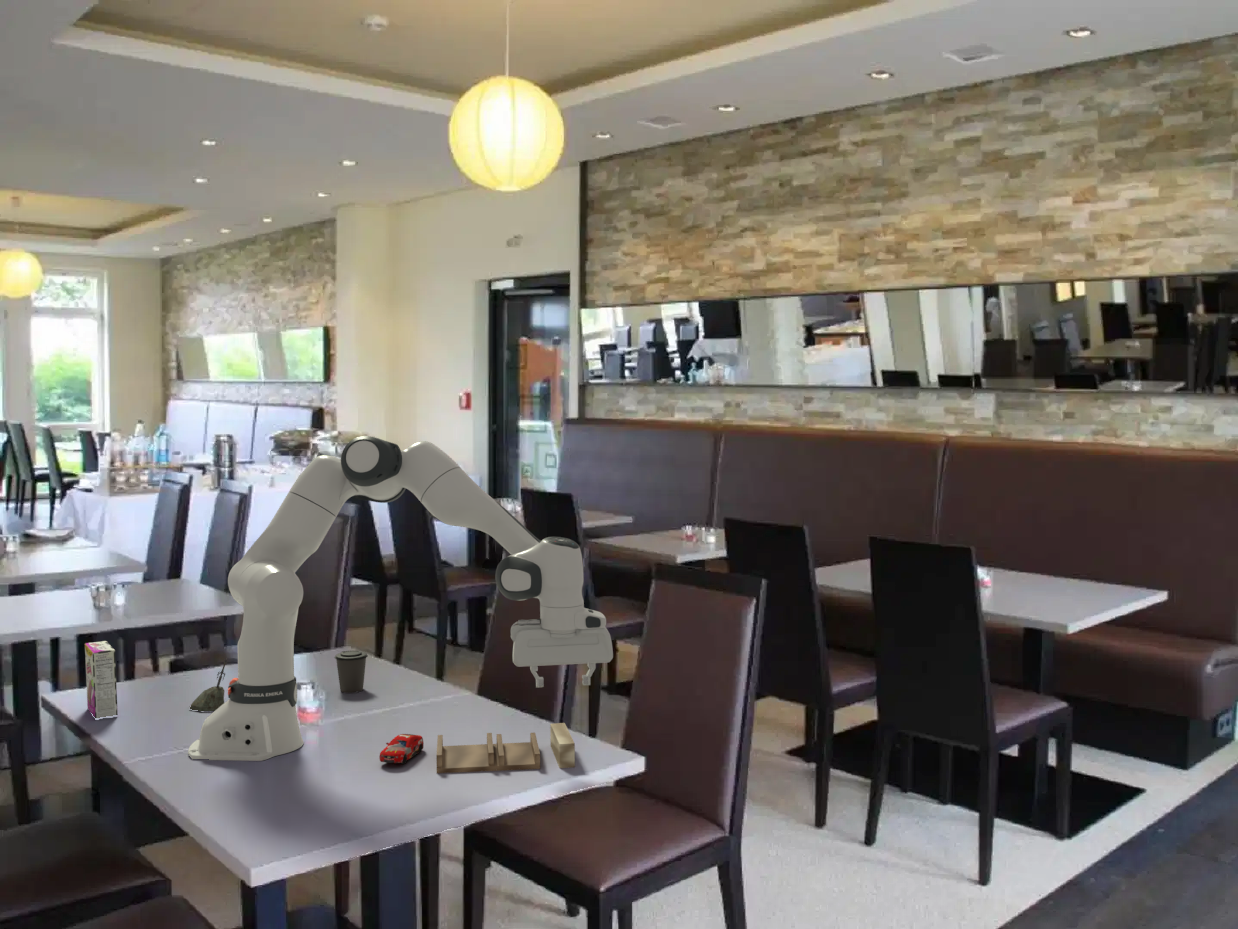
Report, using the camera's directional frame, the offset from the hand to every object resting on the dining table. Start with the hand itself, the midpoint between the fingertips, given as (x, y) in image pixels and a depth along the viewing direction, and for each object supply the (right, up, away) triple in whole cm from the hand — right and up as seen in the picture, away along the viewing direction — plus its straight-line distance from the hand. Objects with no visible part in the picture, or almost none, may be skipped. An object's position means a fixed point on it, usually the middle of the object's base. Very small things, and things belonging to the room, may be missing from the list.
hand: (563, 685), depth 225 cm
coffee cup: (-55, -12, +50) cm, 75 cm away
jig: (-15, -15, -2) cm, 21 cm away
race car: (-32, -17, -5) cm, 36 cm away
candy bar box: (-107, -13, +29) cm, 111 cm away
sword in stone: (-84, -13, +34) cm, 91 cm away
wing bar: (0, -15, 0) cm, 15 cm away
